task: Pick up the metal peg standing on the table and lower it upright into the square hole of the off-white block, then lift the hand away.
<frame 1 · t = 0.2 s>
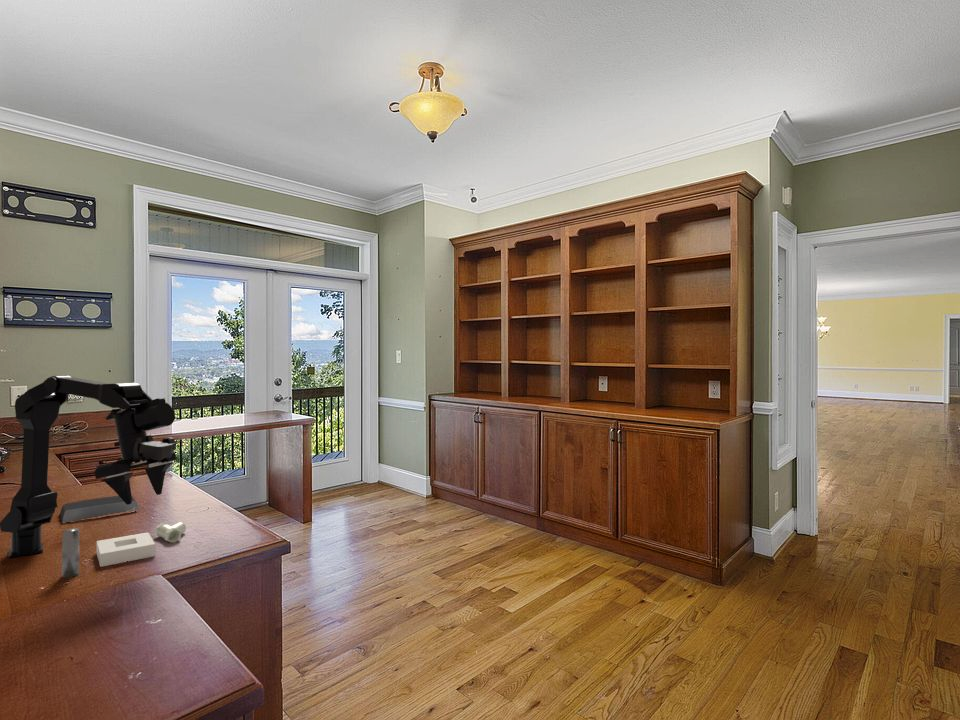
hand: (144, 499, 126), 15 cm above the table, tool pointing down, fingers open, 9 cm apart
metal peg: (70, 574, 119), on the table
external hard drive: (100, 515, 165), on the table
hole block: (125, 554, 131), on the table
pipe fitting: (174, 539, 144), on the table
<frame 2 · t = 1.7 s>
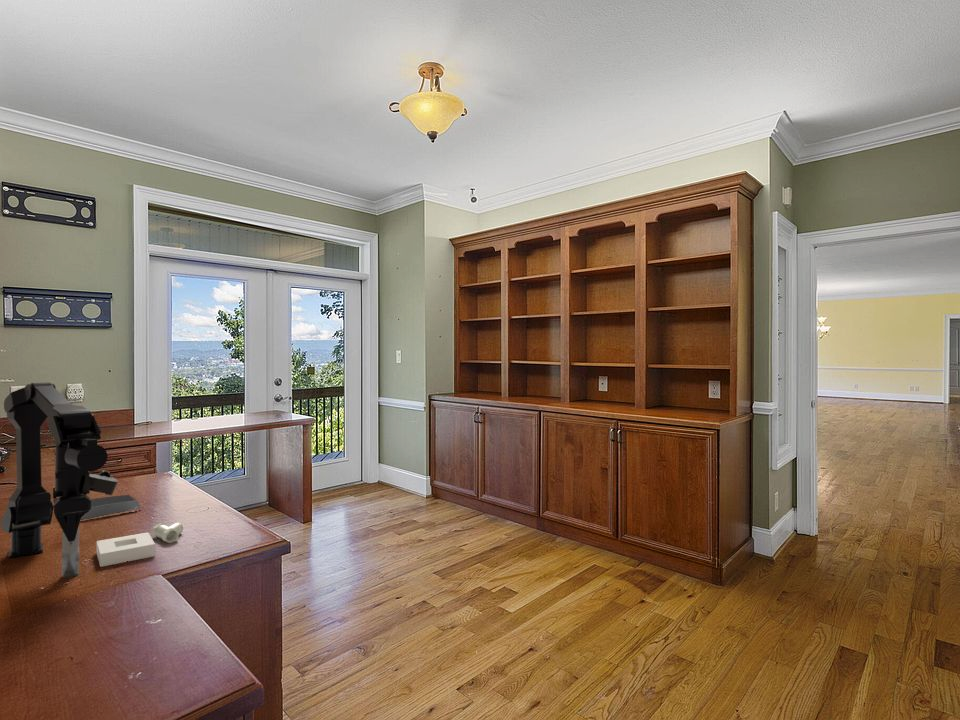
hand: (70, 535, 119), 9 cm above the table, tool pointing down, fingers open, 9 cm apart
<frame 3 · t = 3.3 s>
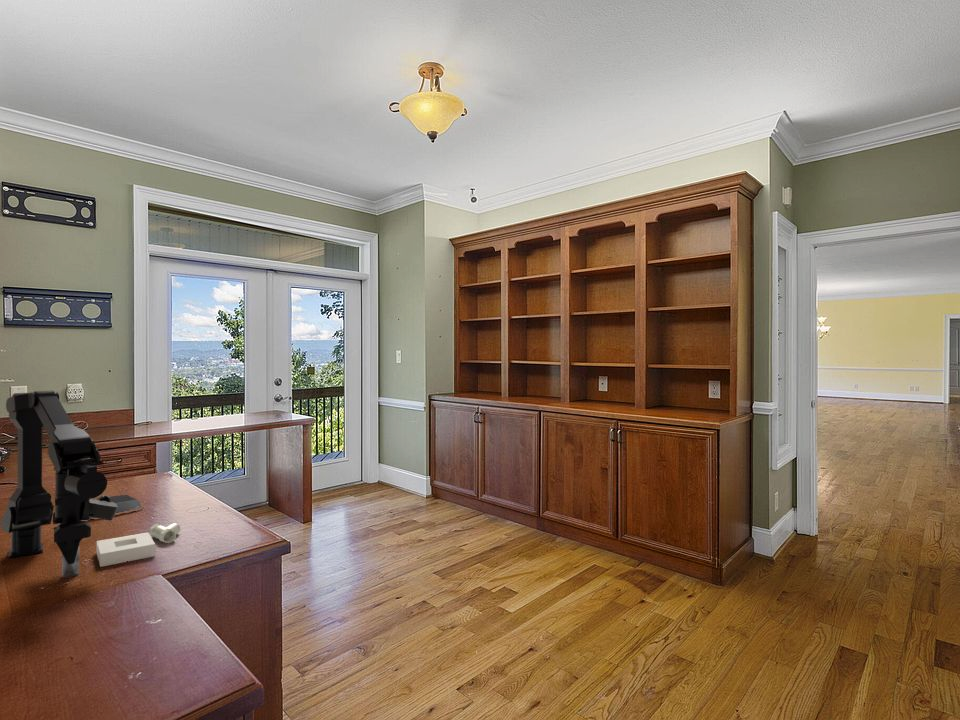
hand: (70, 561, 119), 3 cm above the table, tool pointing down, fingers closed on metal peg, 3 cm apart
metal peg: (70, 574, 119), on the table, touching gripper
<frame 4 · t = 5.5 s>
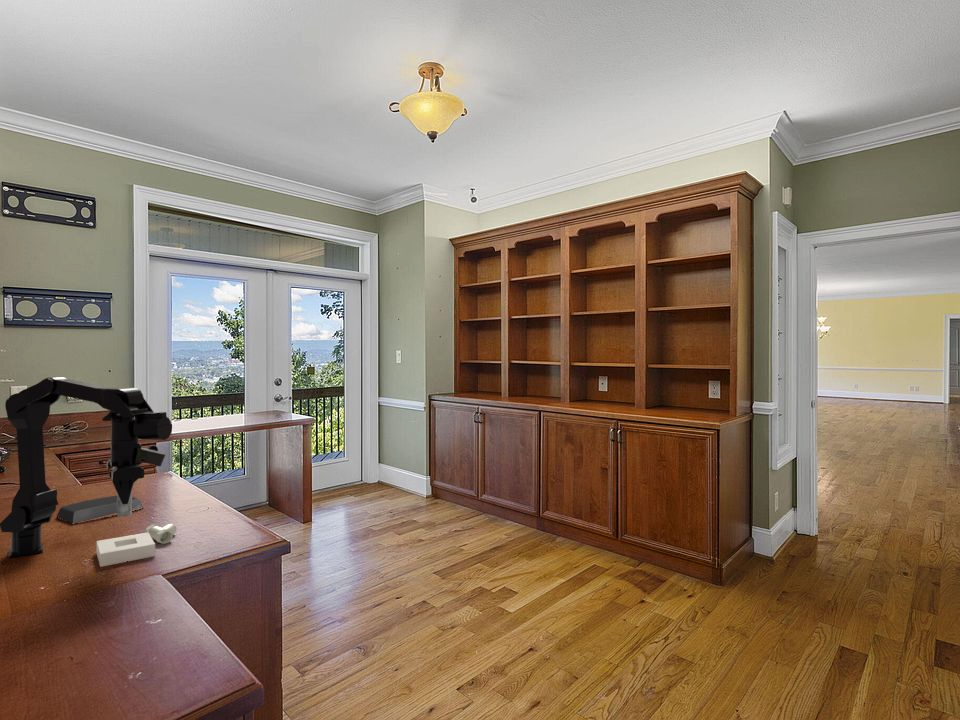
hand: (124, 502, 131), 13 cm above the table, tool pointing down, fingers closed on metal peg, 3 cm apart
metal peg: (124, 514, 131), point 10 cm above the table, touching gripper
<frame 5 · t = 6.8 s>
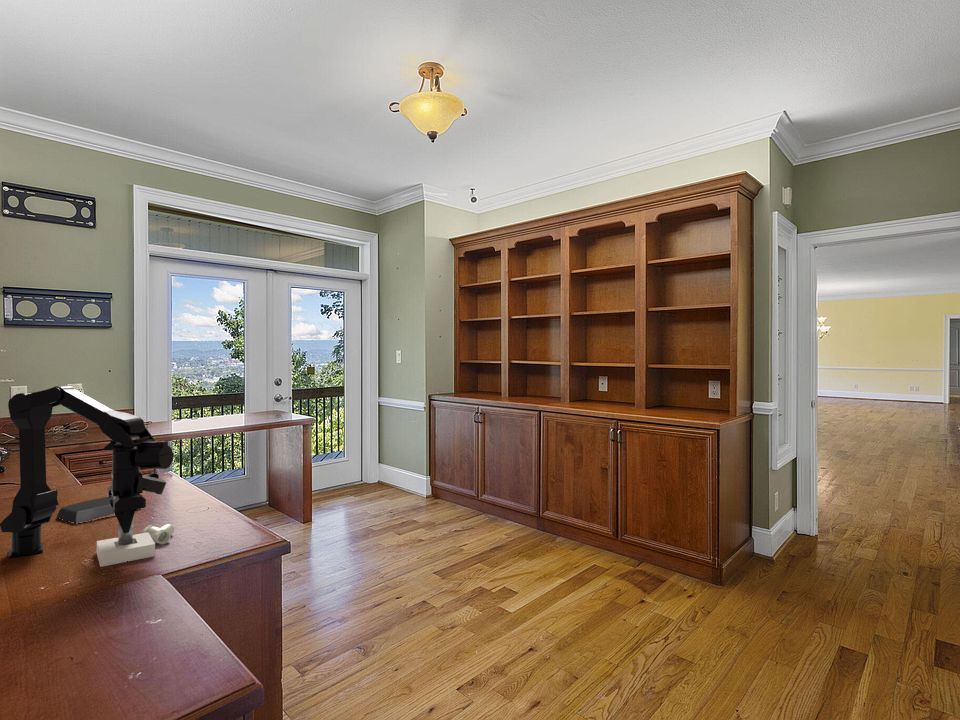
hand: (125, 531, 131), 6 cm above the table, tool pointing down, fingers closed on metal peg, 3 cm apart
metal peg: (125, 543, 131), point 3 cm above the table, touching gripper
when the fingers open (4 cm above the table, at t = 7.6 s): metal peg stays where it is, resting in hole block.
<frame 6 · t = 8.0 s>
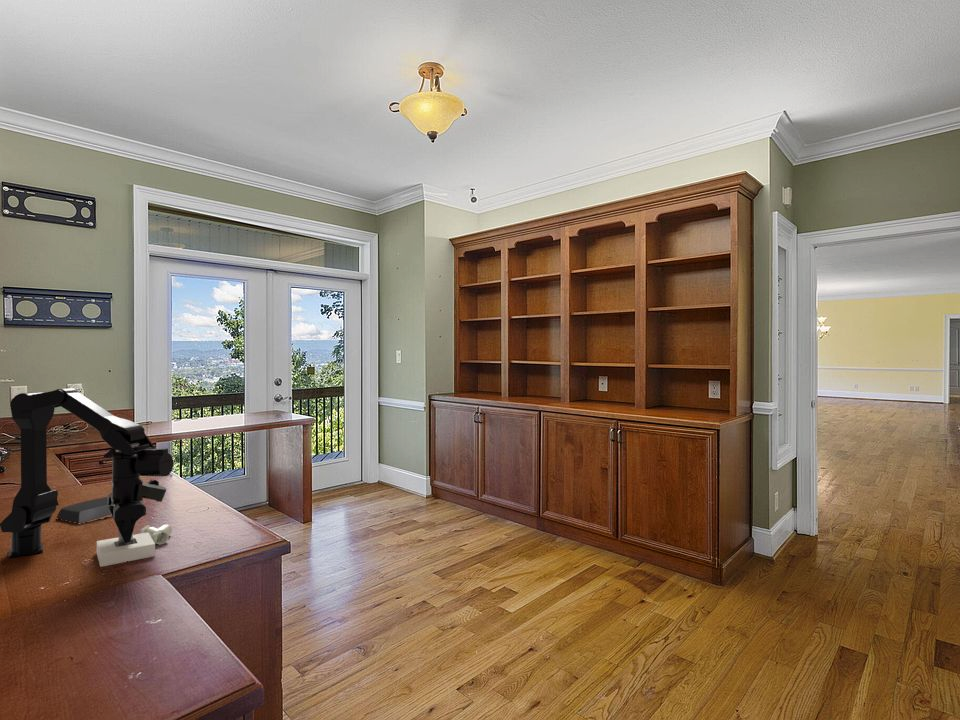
hand: (125, 538, 131), 4 cm above the table, tool pointing down, fingers open, 7 cm apart
metal peg: (125, 554, 131), resting in hole block
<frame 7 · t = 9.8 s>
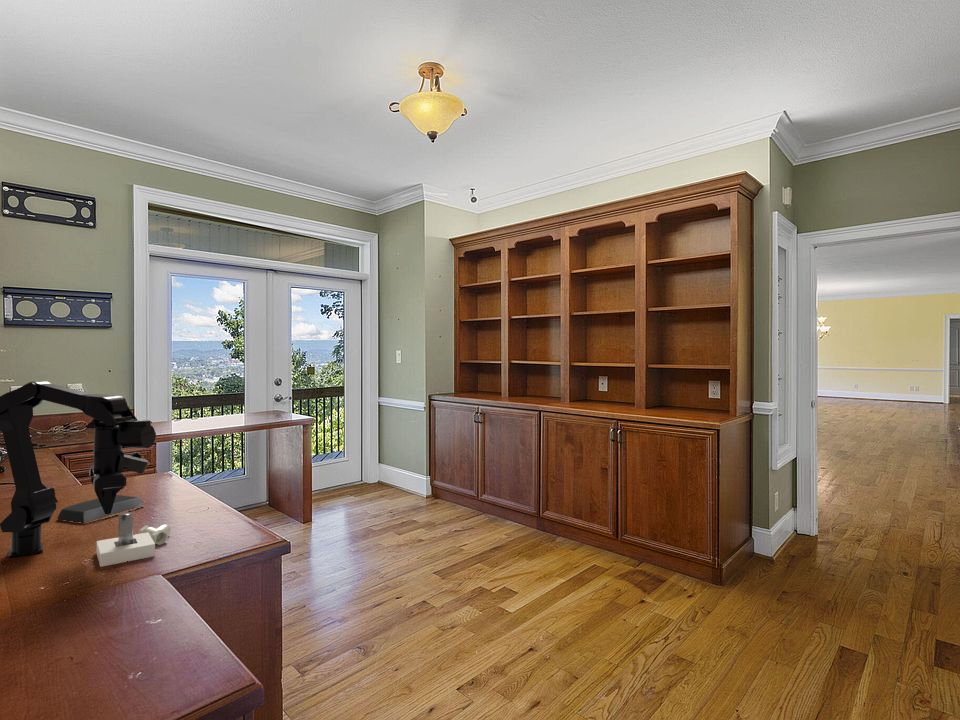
hand: (106, 509, 132), 11 cm above the table, tool pointing down, fingers open, 9 cm apart
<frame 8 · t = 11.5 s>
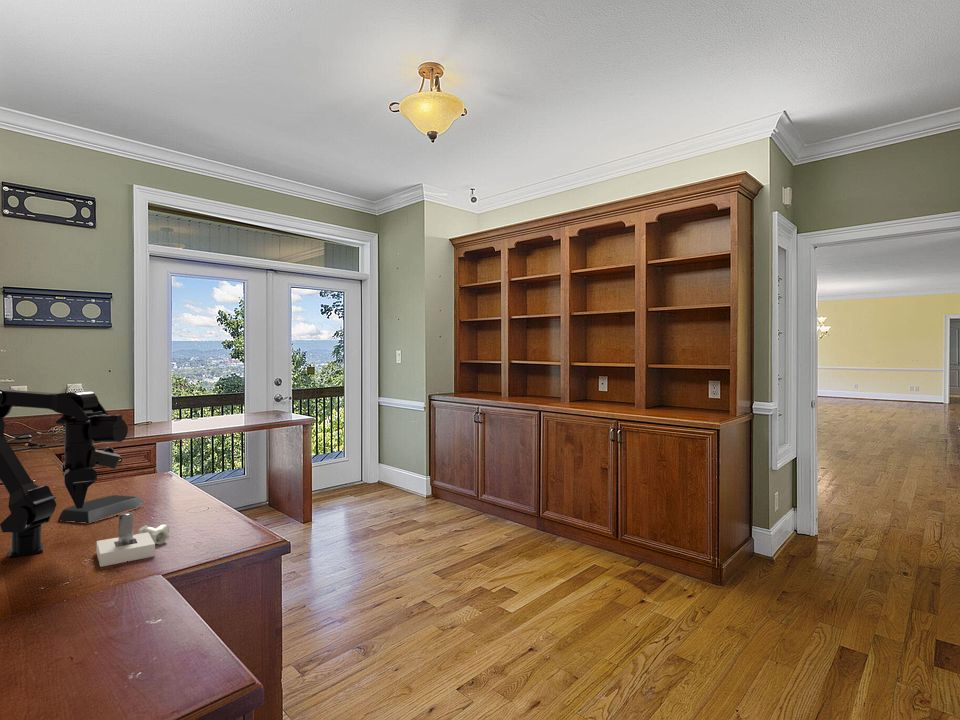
hand: (78, 504, 132), 12 cm above the table, tool pointing down, fingers open, 9 cm apart
at the end: metal peg 0.0 cm off-centre on the hole block, point 0.0 cm above the hole block's base; metal peg tilted 0°; the gripper is holding nothing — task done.
